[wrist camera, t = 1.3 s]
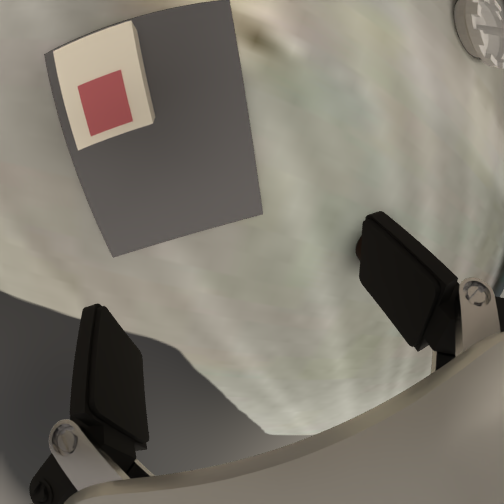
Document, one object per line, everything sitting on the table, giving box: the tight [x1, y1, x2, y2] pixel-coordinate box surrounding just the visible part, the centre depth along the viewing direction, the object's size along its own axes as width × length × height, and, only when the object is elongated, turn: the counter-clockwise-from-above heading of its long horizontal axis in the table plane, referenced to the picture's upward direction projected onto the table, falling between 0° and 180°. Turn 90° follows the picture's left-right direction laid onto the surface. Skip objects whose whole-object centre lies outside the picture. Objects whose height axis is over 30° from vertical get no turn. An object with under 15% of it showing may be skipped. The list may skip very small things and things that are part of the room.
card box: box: [53, 21, 155, 150], centre depth 18 cm, size 9×6×5 cm
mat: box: [44, 0, 263, 257], centre depth 25 cm, size 24×18×1 cm
